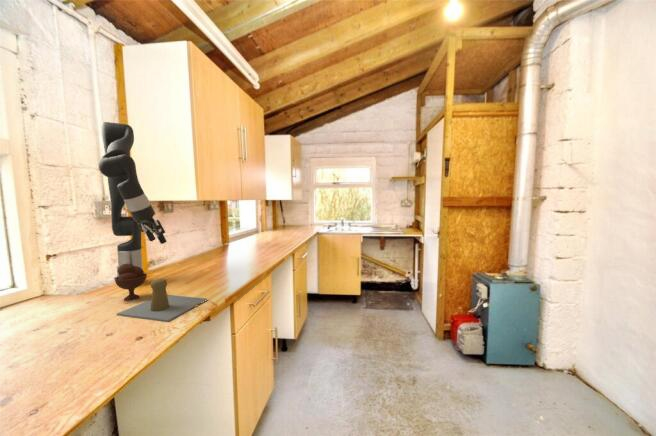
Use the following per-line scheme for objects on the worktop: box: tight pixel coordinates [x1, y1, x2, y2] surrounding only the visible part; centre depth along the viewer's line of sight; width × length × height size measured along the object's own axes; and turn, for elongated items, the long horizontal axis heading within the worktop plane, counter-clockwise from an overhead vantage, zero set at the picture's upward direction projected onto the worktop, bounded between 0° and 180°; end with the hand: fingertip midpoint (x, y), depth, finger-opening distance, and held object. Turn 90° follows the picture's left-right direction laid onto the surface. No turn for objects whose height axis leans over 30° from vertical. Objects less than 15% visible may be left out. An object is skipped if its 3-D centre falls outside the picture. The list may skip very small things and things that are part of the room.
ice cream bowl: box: [113, 263, 148, 302], centre depth 109 cm, size 11×11×15 cm
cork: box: [150, 278, 169, 311], centre depth 98 cm, size 6×6×11 cm
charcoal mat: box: [116, 294, 208, 323], centre depth 101 cm, size 22×20×1 cm
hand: (158, 241), depth 110 cm, fingers open, 8 cm apart
